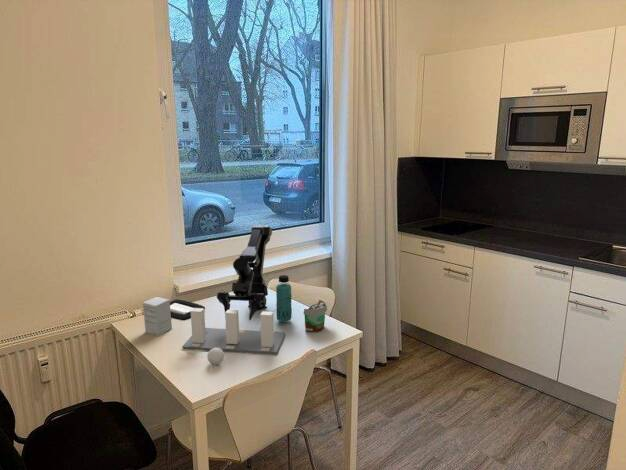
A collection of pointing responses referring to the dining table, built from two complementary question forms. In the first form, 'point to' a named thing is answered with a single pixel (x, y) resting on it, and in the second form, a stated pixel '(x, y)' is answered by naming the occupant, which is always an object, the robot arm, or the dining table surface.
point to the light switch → (182, 309)
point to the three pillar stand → (249, 339)
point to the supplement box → (157, 315)
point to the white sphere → (215, 356)
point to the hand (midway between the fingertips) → (238, 319)
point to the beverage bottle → (283, 299)
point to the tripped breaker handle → (232, 326)
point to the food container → (315, 317)
